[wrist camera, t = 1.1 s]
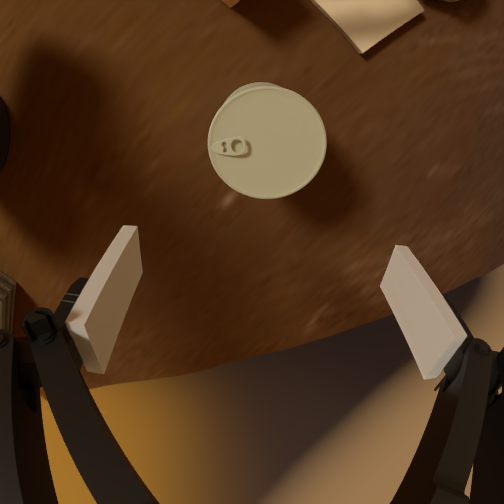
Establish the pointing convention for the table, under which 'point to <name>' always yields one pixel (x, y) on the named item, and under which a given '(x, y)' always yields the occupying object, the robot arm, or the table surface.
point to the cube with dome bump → (230, 2)
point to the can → (266, 141)
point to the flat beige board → (368, 18)
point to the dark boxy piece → (7, 301)
